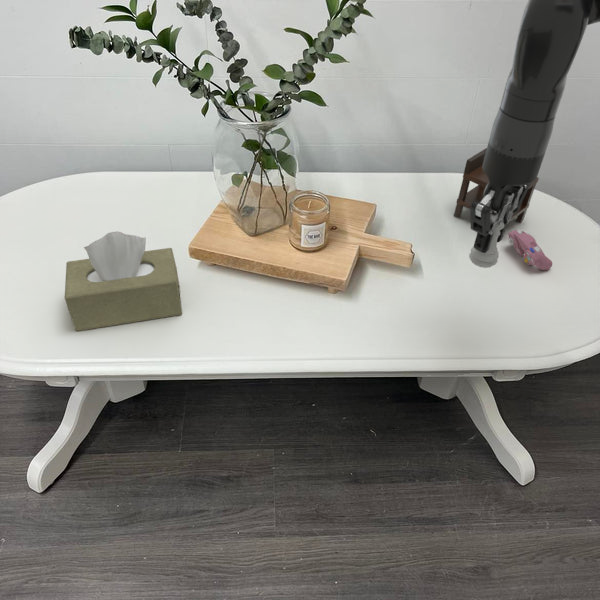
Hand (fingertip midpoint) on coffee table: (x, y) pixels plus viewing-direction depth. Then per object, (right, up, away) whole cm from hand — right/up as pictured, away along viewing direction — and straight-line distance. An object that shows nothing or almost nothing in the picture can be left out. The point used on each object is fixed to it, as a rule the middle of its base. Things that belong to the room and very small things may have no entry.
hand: (487, 244), depth 89 cm
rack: (+13, +9, +39) cm, 42 cm away
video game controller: (+17, 0, +28) cm, 33 cm away
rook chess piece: (0, -3, +2) cm, 3 cm away
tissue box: (-60, -10, +15) cm, 63 cm away
